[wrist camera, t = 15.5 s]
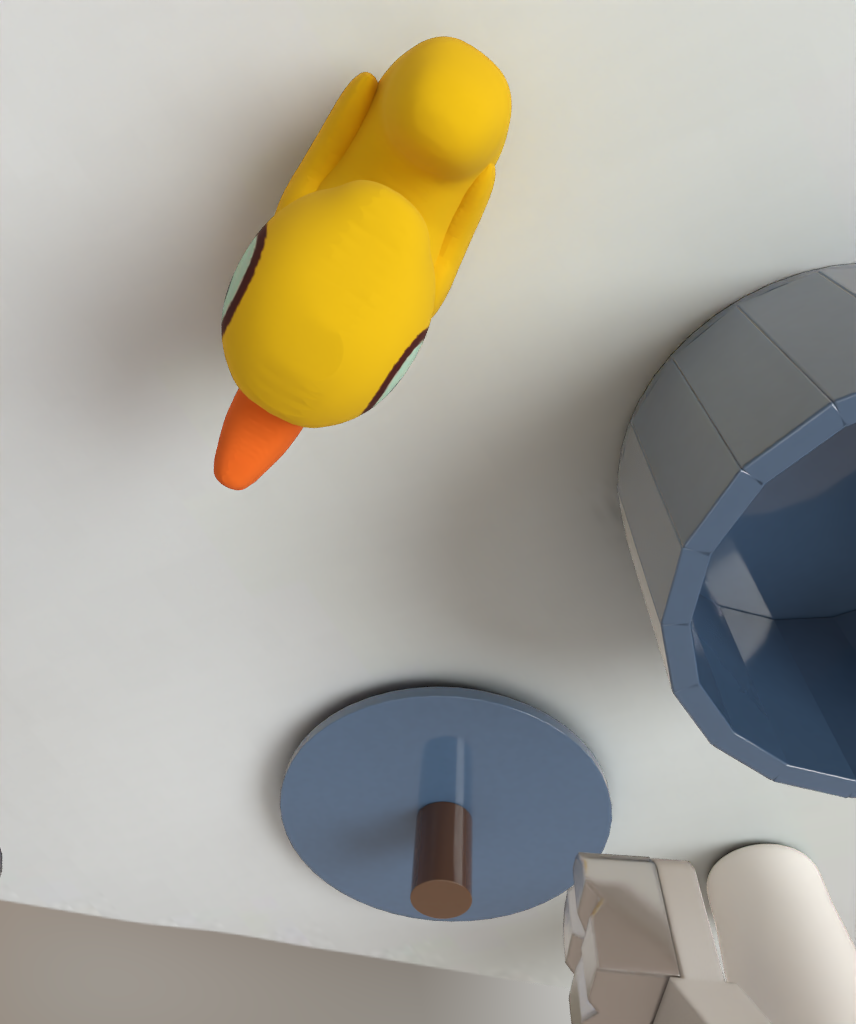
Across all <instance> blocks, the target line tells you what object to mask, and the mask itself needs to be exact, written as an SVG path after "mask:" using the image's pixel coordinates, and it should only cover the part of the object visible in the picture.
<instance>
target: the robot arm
mask: <svg viewBox="0 0 856 1024" xmlns="http://www.w3.org/2000/svg"><path fill="white" fill-rule="evenodd" d="M1 873H2V852H1V849H0V876H1ZM573 878H574V886H573V887H571V888H570V889H568V891H567V896H566V902H565V908H564V923H563V933H564V951H565V963H566V964H567V966H568V967H569V968H570V970H571V971H572V972H573V974H574V978H573V982H572V986H571V990H570V994H569V1002H570V1003H569V1004H570V1013H571V1023H572V1024H772V1023H771V1022H770V1021H769V1019H768V1018H767V1017H766V1016H765V1015H764V1014H763V1013H762V1011H761V1010H760V1009H759V1008H758V1007H757V1006H756V1005H755V1003H754V1002H753V1001H752V1000H751V999H750V998H749V997H748V995H747V994H746V993H745V992H744V991H743V990H742V989H741V987H740V986H739V985H738V984H737V983H732V982H725V979H724V975H723V972H722V968H721V964H720V961H719V957H718V953H717V949H716V946H715V942H714V938H713V935H712V931H711V927H710V924H709V920H708V916H707V912H706V909H705V905H704V901H703V898H702V894H701V890H700V886H699V883H698V879H697V875H696V872H695V869H694V867H693V866H692V864H691V863H690V862H689V861H684V860H669V859H655V858H650V857H643V856H628V855H613V854H598V853H583V852H579V853H578V854H577V855H576V857H575V861H574V865H573Z"/></svg>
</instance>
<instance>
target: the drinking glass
mask: <svg viewBox="0 0 856 1024" xmlns="http://www.w3.org/2000/svg"><path fill="white" fill-rule="evenodd" d="M707 895H708V899H709V903H710V907H711V911H712V914H713V918H714V922H715V926H716V931H717V936H718V941H719V946H720V952H721V957H722V962H723V968H724V973H725V979H726V982H732V983H737V984H738V985H739V986H740V987H741V989H742V990H743V991H744V992H745V993H746V994H747V995H748V997H749V998H750V999H751V1000H752V1001H753V1002H754V1003H755V1005H756V1006H757V1007H758V1008H759V1009H760V1010H761V1011H762V1013H763V1014H764V1015H765V1016H766V1017H767V1018H768V1019H769V1021H770V1022H771V1023H772V1024H856V947H855V945H854V943H853V942H852V940H851V938H850V936H849V934H848V932H847V930H846V928H845V926H844V924H843V922H842V920H841V918H840V916H839V914H838V912H837V910H836V908H835V906H834V904H833V902H832V900H831V897H830V895H829V893H828V890H827V888H826V885H825V883H824V881H823V878H822V876H821V874H820V872H819V870H818V868H817V867H816V865H815V864H814V862H813V861H812V860H811V859H810V858H809V857H807V856H806V855H805V854H803V853H802V852H800V851H798V850H796V849H794V848H791V847H788V846H784V845H778V844H756V845H750V846H746V847H742V848H739V849H737V850H734V851H732V852H730V853H729V854H727V855H725V856H724V857H722V858H721V859H720V860H719V861H718V862H717V863H716V864H715V865H714V866H713V868H712V869H711V871H710V873H709V876H708V879H707Z"/></svg>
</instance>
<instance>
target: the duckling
mask: <svg viewBox="0 0 856 1024" xmlns="http://www.w3.org/2000/svg"><path fill="white" fill-rule="evenodd" d="M510 118H511V94H510V89H509V86H508V83H507V81H506V79H505V77H504V75H503V74H502V72H501V71H500V69H499V68H498V67H497V66H496V65H495V64H494V63H493V62H492V61H491V60H490V59H489V58H487V57H486V56H485V55H484V54H483V53H481V52H480V51H479V50H477V49H476V48H474V47H473V46H471V45H469V44H467V43H465V42H464V41H462V40H459V39H456V38H452V37H435V38H431V39H428V40H425V41H423V42H421V43H419V44H418V45H416V46H414V47H413V48H411V49H410V50H409V51H407V52H406V53H404V54H403V55H402V56H401V57H399V58H398V59H397V60H396V61H395V62H394V63H393V64H392V65H391V66H390V68H389V69H388V70H387V71H386V73H385V74H384V75H383V77H382V78H381V79H380V81H379V82H377V80H376V78H375V77H374V76H373V75H372V74H370V73H368V72H363V73H360V74H359V75H358V76H356V77H355V78H354V79H353V80H352V81H351V82H350V83H349V84H348V86H347V87H346V88H345V90H344V91H343V93H342V94H341V96H340V97H339V99H338V100H337V102H336V104H335V105H334V107H333V109H332V110H331V112H330V114H329V116H328V117H327V119H326V121H325V123H324V124H323V126H322V128H321V130H320V131H319V133H318V135H317V137H316V138H315V140H314V142H313V143H312V145H311V147H310V148H309V150H308V152H307V153H306V155H305V157H304V158H303V160H302V162H301V164H300V165H299V167H298V168H297V170H296V172H295V173H294V175H293V176H292V178H291V180H290V181H289V183H288V185H287V187H286V189H285V190H284V192H283V195H282V197H281V199H280V202H279V204H278V207H277V210H276V213H275V215H274V216H273V217H272V218H271V219H270V220H269V221H268V222H267V223H266V224H265V226H264V227H263V228H262V229H261V230H260V231H259V233H258V234H257V235H256V237H255V238H254V239H253V241H252V242H251V244H250V245H249V247H248V248H247V250H246V251H245V253H244V255H243V257H242V259H241V260H240V262H239V264H238V266H237V268H236V270H235V272H234V275H233V277H232V279H231V282H230V285H229V287H228V290H227V294H226V297H225V301H224V306H223V313H222V343H223V349H224V354H225V358H226V361H227V364H228V367H229V370H230V373H231V375H232V377H233V379H234V381H235V383H236V384H237V386H238V387H239V389H238V391H237V393H236V395H235V397H234V399H233V401H232V403H231V405H230V408H229V410H228V412H227V415H226V417H225V420H224V423H223V427H222V430H221V434H220V438H219V442H218V447H217V450H216V454H215V459H214V474H215V477H216V479H217V480H218V481H219V482H220V483H221V484H223V485H224V486H226V487H228V488H230V489H234V490H242V489H245V488H247V487H248V486H250V485H251V484H253V483H254V482H255V481H257V480H258V479H259V478H260V477H261V476H262V475H263V474H264V473H265V472H266V471H267V470H268V469H269V468H270V467H271V466H272V465H273V464H274V463H275V462H276V461H277V460H278V459H279V458H280V457H281V456H282V455H283V454H284V453H285V452H286V450H287V449H288V448H289V447H290V445H291V444H292V443H293V441H294V440H295V439H296V437H297V436H298V434H299V433H300V432H301V430H302V428H303V427H308V428H319V427H326V426H332V425H336V424H340V423H343V422H346V421H349V420H351V419H354V418H356V417H358V416H360V415H361V414H363V413H365V412H367V411H368V410H370V409H371V408H373V407H374V406H375V405H377V404H378V403H379V402H380V401H381V400H383V399H384V398H385V397H386V396H387V395H388V394H389V393H390V392H391V391H392V390H393V388H394V387H395V386H396V385H397V384H398V382H399V381H400V380H401V378H402V377H403V376H404V374H405V373H406V371H407V370H408V368H409V367H410V365H411V364H412V362H413V360H414V359H415V357H416V355H417V353H418V351H419V349H420V347H421V345H422V343H423V341H424V338H425V336H426V333H427V331H428V328H429V325H430V321H431V318H432V317H433V316H434V315H435V314H436V312H437V311H438V309H439V308H440V306H441V305H442V303H443V301H444V300H445V298H446V296H447V294H448V292H449V290H450V288H451V285H452V283H453V281H454V278H455V276H456V274H457V271H458V269H459V266H460V264H461V262H462V260H463V257H464V255H465V253H466V250H467V248H468V246H469V244H470V241H471V239H472V237H473V234H474V232H475V230H476V228H477V226H478V223H479V221H480V219H481V217H482V214H483V212H484V210H485V207H486V205H487V203H488V200H489V198H490V195H491V192H492V189H493V185H494V181H495V164H496V162H497V160H498V158H499V156H500V154H501V152H502V149H503V146H504V143H505V140H506V136H507V132H508V128H509V123H510Z"/></svg>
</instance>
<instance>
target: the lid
mask: <svg viewBox="0 0 856 1024" xmlns="http://www.w3.org/2000/svg"><path fill="white" fill-rule="evenodd" d="M280 809H281V817H282V822H283V825H284V828H285V831H286V834H287V836H288V838H289V840H290V842H291V844H292V846H293V848H294V849H295V851H296V852H297V853H298V855H299V856H300V858H301V859H302V860H303V861H304V862H305V863H306V865H307V866H308V867H309V868H310V869H311V870H312V871H313V872H314V873H315V874H317V875H318V876H319V877H320V878H321V879H323V880H324V881H325V882H326V883H328V884H329V885H331V886H332V887H334V888H335V889H337V890H338V891H340V892H341V893H343V894H345V895H347V896H349V897H351V898H353V899H355V900H357V901H359V902H361V903H364V904H366V905H369V906H371V907H374V908H376V909H380V910H383V911H386V912H389V913H393V914H397V915H401V916H406V917H411V918H417V919H425V920H432V921H451V922H452V921H475V920H484V919H492V918H497V917H502V916H507V915H511V914H515V913H518V912H521V911H525V910H528V909H530V908H533V907H535V906H538V905H540V904H543V903H545V902H547V901H549V900H551V899H553V898H554V897H556V896H558V895H560V894H561V893H563V892H564V891H566V890H567V889H569V888H570V887H572V886H573V885H574V878H573V865H574V861H575V857H576V855H577V854H578V853H579V852H583V853H598V854H601V853H602V851H603V850H604V847H605V845H606V842H607V839H608V837H609V833H610V828H611V822H612V804H611V798H610V793H609V789H608V784H607V780H606V778H605V775H604V773H603V771H602V768H601V766H600V764H599V763H598V761H597V760H596V758H595V757H594V755H593V753H592V752H591V751H590V750H589V748H588V747H587V746H586V745H585V744H584V743H583V742H582V740H581V739H580V738H579V737H578V736H577V735H575V734H574V733H573V732H572V731H571V730H569V729H568V728H567V727H566V726H565V725H563V724H562V723H560V722H559V721H557V720H556V719H554V718H553V717H551V716H550V715H548V714H546V713H544V712H542V711H540V710H538V709H536V708H534V707H532V706H530V705H528V704H526V703H523V702H520V701H517V700H515V699H512V698H509V697H506V696H502V695H498V694H494V693H490V692H486V691H481V690H474V689H467V688H460V687H420V688H409V689H403V690H397V691H391V692H387V693H383V694H379V695H376V696H372V697H369V698H366V699H364V700H361V701H359V702H356V703H354V704H351V705H349V706H347V707H345V708H343V709H341V710H340V711H338V712H336V713H334V714H332V715H331V716H329V717H328V718H327V719H325V720H324V721H323V722H321V723H320V724H319V725H317V726H316V727H315V728H314V729H313V730H312V731H311V732H310V733H309V734H308V735H307V736H306V737H305V738H304V739H303V740H302V742H301V743H300V745H299V746H298V747H297V749H296V750H295V752H294V753H293V755H292V757H291V759H290V761H289V764H288V766H287V768H286V772H285V776H284V780H283V784H282V787H281V795H280Z"/></svg>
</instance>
